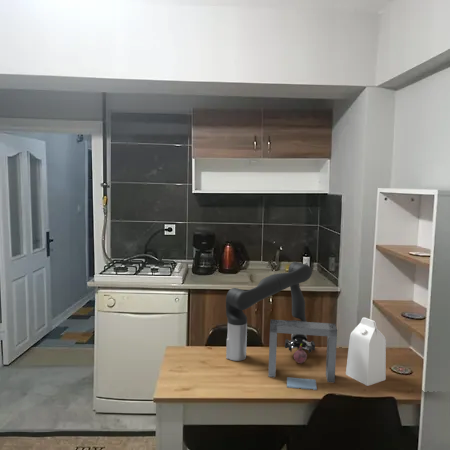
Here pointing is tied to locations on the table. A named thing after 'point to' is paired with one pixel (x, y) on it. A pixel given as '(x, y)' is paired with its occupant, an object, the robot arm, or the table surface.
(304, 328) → the grey arch
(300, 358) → the vegetable
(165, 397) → the table surface
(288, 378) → the pad
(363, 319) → the milk
